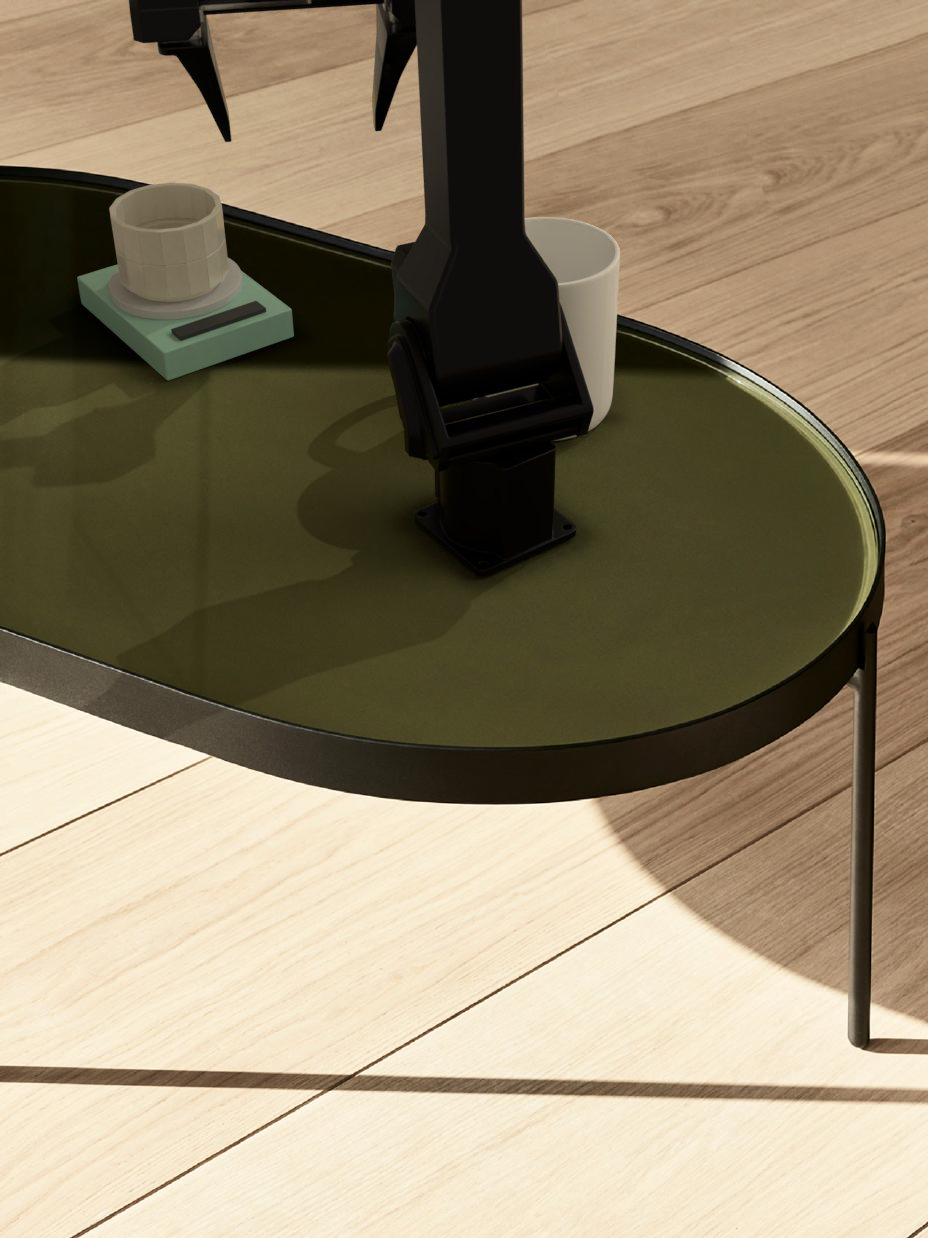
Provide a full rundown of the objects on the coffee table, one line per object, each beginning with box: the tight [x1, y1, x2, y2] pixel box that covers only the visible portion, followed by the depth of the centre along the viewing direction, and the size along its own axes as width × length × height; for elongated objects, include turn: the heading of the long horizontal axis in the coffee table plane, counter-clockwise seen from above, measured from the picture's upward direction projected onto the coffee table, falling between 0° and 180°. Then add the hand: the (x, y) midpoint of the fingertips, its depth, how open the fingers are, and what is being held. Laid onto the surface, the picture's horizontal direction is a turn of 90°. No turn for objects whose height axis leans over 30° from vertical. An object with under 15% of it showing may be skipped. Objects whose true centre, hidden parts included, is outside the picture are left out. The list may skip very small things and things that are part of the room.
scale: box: [76, 257, 295, 381], centre depth 107 cm, size 12×9×3 cm
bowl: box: [108, 182, 229, 302], centre depth 105 cm, size 7×7×5 cm
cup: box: [472, 216, 621, 442], centre depth 97 cm, size 8×12×10 cm
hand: (303, 133), depth 103 cm, fingers open, 9 cm apart
